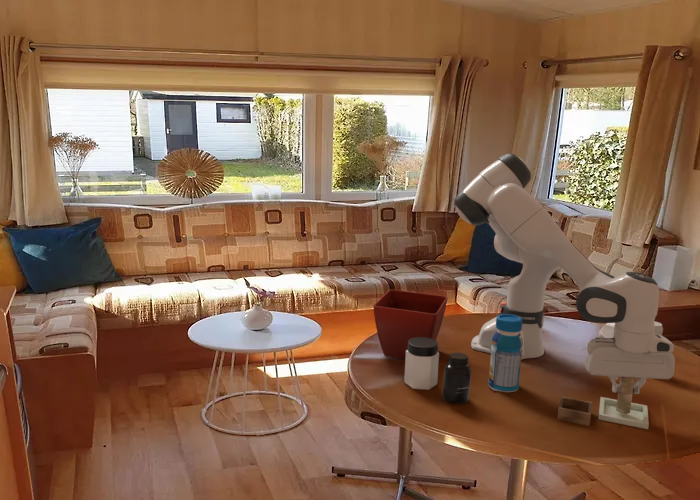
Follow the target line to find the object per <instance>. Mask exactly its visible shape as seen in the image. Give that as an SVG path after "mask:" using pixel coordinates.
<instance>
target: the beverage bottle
mask: <svg viewBox="0 0 700 500" xmlns="http://www.w3.org/2000/svg"><path fill="white" fill-rule="evenodd" d="M496 317H497V318H496V329H497V331H496V332H495V334H494V335H493V338H492V343H493V345H492V346H491V349H490V352H491V353H490V364H489V374H488V376H489V377H488V380H487V381H488V383H487V384H488V387H489V389H491V390H493V391H495V392H501V393H502V392H503V393H513V392H517V391H518V390H519V388H520V375H521V366H522V365H521V364H522V359H521V358H522V355H523V350H522V346H523V340H522V337H521V335H520V333H519V332H521V329H522V318H521V317H519V316H516V315H511V314H501V315H499V314H498V315H497V316H496Z"/></svg>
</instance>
